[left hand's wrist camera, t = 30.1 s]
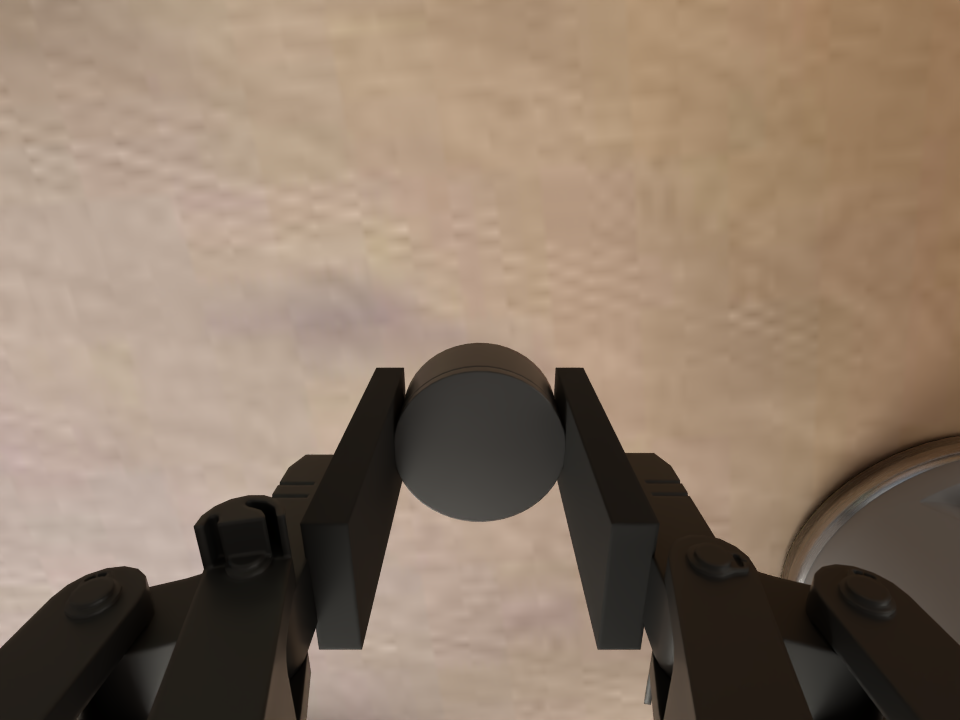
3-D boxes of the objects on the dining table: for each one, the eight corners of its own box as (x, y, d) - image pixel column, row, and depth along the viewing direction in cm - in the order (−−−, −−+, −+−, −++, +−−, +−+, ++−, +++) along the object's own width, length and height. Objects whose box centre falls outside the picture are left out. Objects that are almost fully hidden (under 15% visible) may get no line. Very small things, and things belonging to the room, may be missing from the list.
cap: (379, 441, 15) (364, 481, 13) (445, 315, 14) (440, 340, 12) (508, 499, 16) (512, 545, 14) (583, 385, 14) (600, 419, 12)
